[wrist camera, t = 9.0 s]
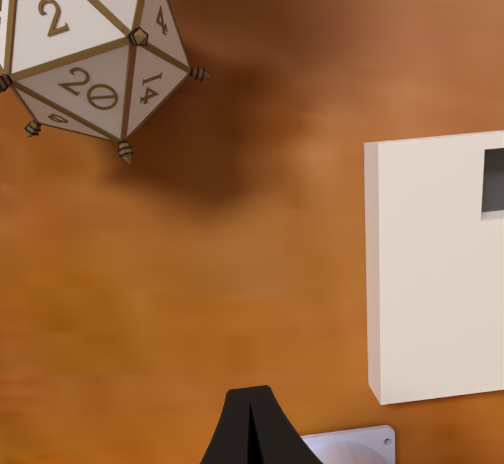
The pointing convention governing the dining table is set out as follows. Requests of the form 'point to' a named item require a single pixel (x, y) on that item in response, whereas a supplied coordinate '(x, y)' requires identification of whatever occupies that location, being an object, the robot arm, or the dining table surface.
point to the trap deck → (435, 266)
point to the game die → (92, 63)
